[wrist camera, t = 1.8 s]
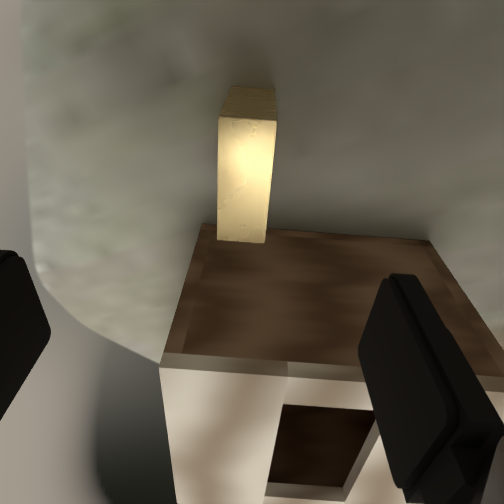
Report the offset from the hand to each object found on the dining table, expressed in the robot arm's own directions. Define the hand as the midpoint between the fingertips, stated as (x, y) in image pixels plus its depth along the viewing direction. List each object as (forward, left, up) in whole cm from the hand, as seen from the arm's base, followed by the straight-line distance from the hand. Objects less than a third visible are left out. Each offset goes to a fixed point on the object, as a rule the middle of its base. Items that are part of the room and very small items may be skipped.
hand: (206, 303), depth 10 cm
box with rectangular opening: (-6, +13, -14) cm, 20 cm away
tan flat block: (-1, 0, -14) cm, 14 cm away
